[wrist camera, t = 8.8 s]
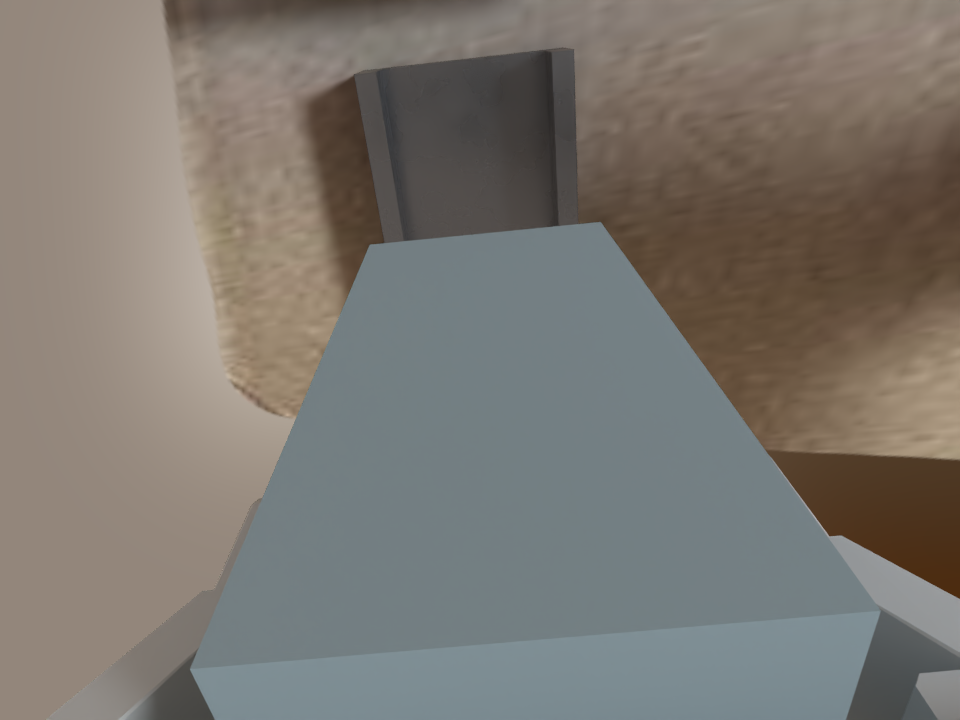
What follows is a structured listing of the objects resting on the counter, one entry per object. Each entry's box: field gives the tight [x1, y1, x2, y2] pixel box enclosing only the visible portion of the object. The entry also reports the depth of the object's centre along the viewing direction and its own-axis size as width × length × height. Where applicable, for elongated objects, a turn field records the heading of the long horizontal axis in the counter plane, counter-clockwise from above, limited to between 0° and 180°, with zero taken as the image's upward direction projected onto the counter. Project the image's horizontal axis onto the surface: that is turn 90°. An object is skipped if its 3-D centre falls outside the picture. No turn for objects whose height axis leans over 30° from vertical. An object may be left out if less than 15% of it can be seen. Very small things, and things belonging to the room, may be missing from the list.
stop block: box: [190, 222, 881, 720], centre depth 8 cm, size 4×6×8 cm, turn 5°
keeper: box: [354, 48, 578, 243], centre depth 32 cm, size 10×13×3 cm
